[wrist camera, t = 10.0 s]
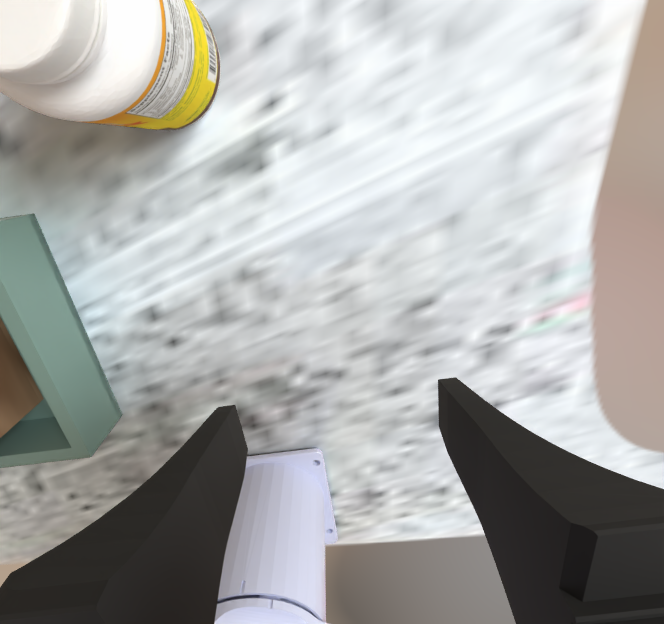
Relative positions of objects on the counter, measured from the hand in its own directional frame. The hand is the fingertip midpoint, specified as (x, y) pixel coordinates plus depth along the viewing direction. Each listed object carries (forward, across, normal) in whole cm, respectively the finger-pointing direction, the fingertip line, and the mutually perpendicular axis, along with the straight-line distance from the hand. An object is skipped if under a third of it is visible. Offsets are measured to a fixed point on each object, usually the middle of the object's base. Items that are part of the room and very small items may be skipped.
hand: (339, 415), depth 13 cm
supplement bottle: (+10, +6, -13) cm, 17 cm away
